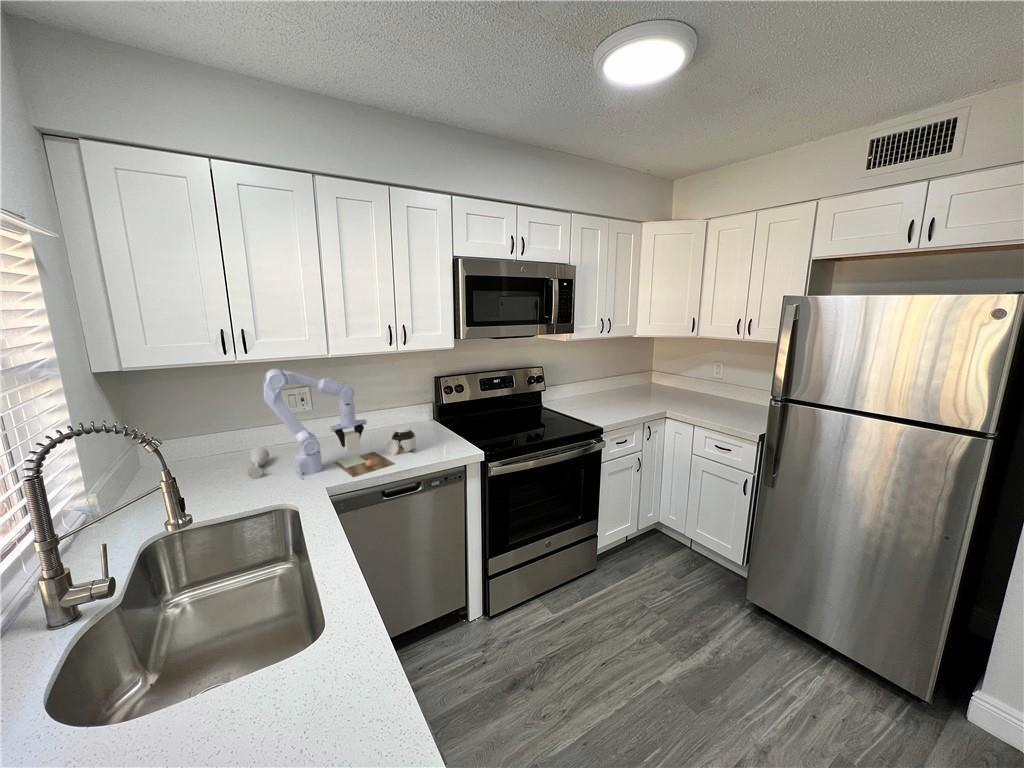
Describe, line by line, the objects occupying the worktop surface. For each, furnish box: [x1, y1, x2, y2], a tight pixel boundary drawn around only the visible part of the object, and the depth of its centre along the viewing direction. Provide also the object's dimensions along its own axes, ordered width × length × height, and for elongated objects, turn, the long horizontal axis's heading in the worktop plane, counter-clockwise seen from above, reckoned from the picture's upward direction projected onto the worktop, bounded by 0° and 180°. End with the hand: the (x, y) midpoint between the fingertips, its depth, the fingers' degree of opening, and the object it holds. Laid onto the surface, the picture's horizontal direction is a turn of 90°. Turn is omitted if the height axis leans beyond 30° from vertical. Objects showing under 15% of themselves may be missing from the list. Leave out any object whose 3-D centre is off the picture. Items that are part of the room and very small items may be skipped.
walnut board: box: [333, 451, 396, 478], centre depth 173 cm, size 18×20×1 cm
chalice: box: [247, 446, 270, 480], centre depth 170 cm, size 7×7×18 cm
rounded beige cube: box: [341, 429, 361, 453], centre depth 173 cm, size 6×6×6 cm
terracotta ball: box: [366, 460, 373, 467], centre depth 169 cm, size 3×3×3 cm
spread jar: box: [385, 424, 417, 456], centre depth 186 cm, size 12×11×12 cm
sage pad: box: [336, 455, 366, 468], centre depth 175 cm, size 9×9×1 cm
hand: (350, 444), depth 173 cm, fingers closed on rounded beige cube, 6 cm apart
